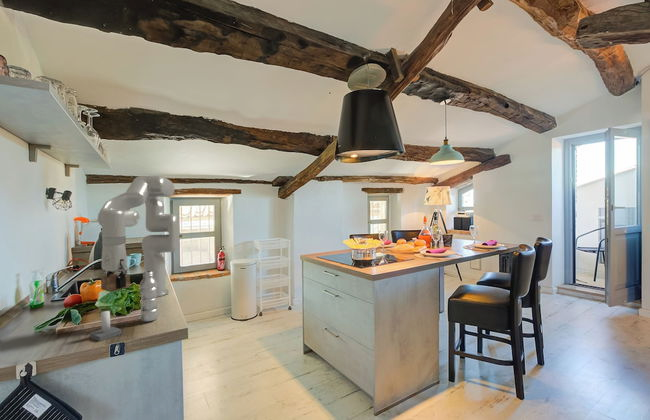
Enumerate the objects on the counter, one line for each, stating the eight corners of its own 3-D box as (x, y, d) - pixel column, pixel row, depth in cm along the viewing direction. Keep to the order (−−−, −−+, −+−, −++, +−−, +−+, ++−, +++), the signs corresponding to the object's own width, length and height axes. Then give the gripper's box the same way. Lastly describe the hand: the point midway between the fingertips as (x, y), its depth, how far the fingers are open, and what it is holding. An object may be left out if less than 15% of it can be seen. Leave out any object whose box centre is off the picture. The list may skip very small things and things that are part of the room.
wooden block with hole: (101, 289, 118) (100, 276, 117) (120, 284, 124) (120, 272, 123) (110, 291, 114) (110, 278, 114) (130, 287, 120) (129, 274, 120)
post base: (89, 337, 107) (89, 313, 107) (111, 330, 114) (111, 307, 113) (99, 341, 104) (99, 316, 104) (121, 333, 110) (121, 310, 110)
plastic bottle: (162, 317, 126) (161, 269, 125) (151, 324, 119) (150, 273, 118) (147, 317, 126) (146, 269, 126) (136, 323, 119) (134, 273, 119)
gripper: (92, 241, 119) (93, 285, 120) (115, 244, 111) (117, 292, 111) (113, 239, 126) (114, 281, 126) (136, 241, 117) (138, 286, 118)
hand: (115, 286), depth 119 cm, fingers closed on wooden block with hole, 7 cm apart
